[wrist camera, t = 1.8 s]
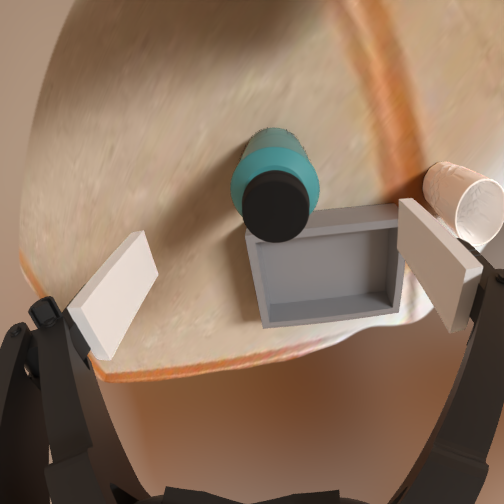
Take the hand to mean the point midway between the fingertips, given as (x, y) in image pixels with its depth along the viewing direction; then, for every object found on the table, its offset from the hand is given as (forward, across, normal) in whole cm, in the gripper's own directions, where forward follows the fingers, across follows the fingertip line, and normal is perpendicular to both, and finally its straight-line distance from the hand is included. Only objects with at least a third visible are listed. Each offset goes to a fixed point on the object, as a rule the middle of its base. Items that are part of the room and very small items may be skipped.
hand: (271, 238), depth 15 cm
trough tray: (+22, +5, -15) cm, 27 cm away
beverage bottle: (+23, 0, 0) cm, 23 cm away
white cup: (+23, +22, -6) cm, 32 cm away
